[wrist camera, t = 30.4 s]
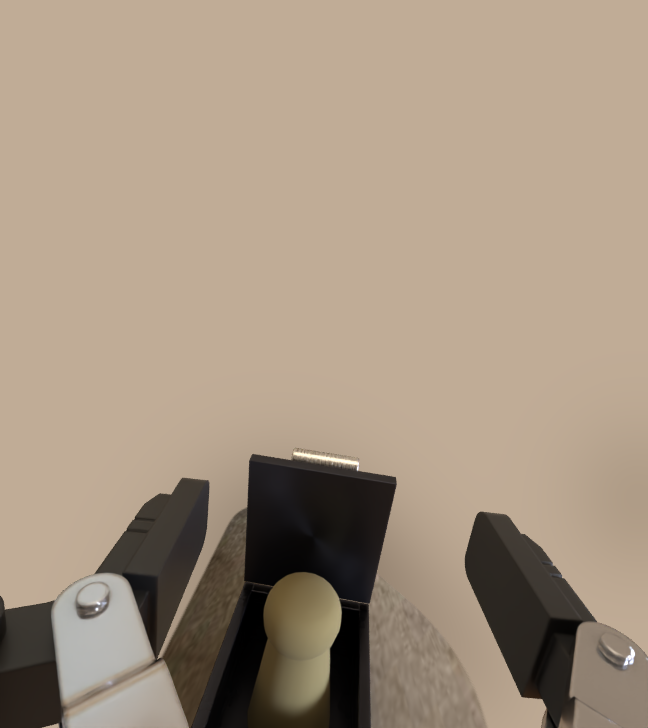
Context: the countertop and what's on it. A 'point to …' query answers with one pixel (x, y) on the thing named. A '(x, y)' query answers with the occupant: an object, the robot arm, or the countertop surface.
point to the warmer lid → (316, 520)
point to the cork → (296, 654)
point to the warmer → (245, 652)
